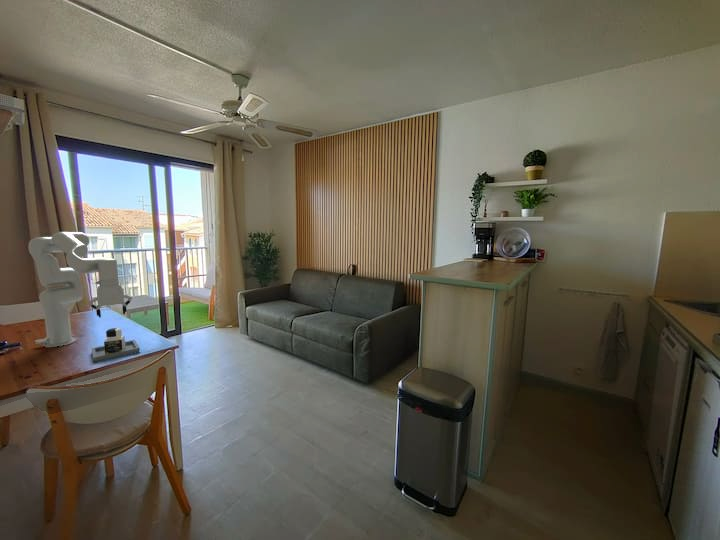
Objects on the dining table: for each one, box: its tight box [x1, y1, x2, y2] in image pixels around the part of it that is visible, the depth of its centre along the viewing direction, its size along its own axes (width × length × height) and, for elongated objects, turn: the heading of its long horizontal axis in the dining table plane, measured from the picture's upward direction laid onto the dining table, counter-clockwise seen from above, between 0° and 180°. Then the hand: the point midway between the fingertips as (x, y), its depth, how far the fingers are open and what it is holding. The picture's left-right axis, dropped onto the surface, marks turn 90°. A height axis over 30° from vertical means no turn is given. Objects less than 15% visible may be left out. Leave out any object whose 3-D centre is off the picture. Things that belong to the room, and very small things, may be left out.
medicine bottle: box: [103, 327, 126, 354], centre depth 151 cm, size 7×7×12 cm
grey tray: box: [91, 339, 140, 363], centre depth 152 cm, size 18×16×2 cm
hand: (112, 315), depth 149 cm, fingers open, 9 cm apart
